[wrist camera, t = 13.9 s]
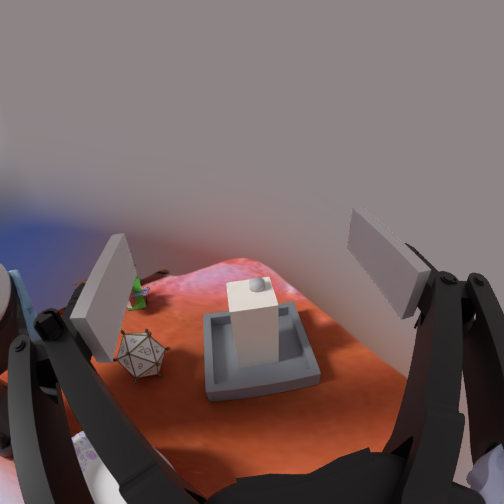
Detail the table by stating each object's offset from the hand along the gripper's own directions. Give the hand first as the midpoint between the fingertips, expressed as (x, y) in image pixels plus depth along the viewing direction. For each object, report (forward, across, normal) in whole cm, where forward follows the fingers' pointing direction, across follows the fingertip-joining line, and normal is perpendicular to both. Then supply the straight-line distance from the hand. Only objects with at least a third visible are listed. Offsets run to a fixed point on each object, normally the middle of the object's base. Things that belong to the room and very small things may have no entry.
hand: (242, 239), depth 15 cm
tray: (+14, +2, -29) cm, 32 cm away
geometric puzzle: (+30, -21, -30) cm, 47 cm away
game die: (+13, -16, -30) cm, 36 cm away
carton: (+14, +2, -28) cm, 31 cm away
